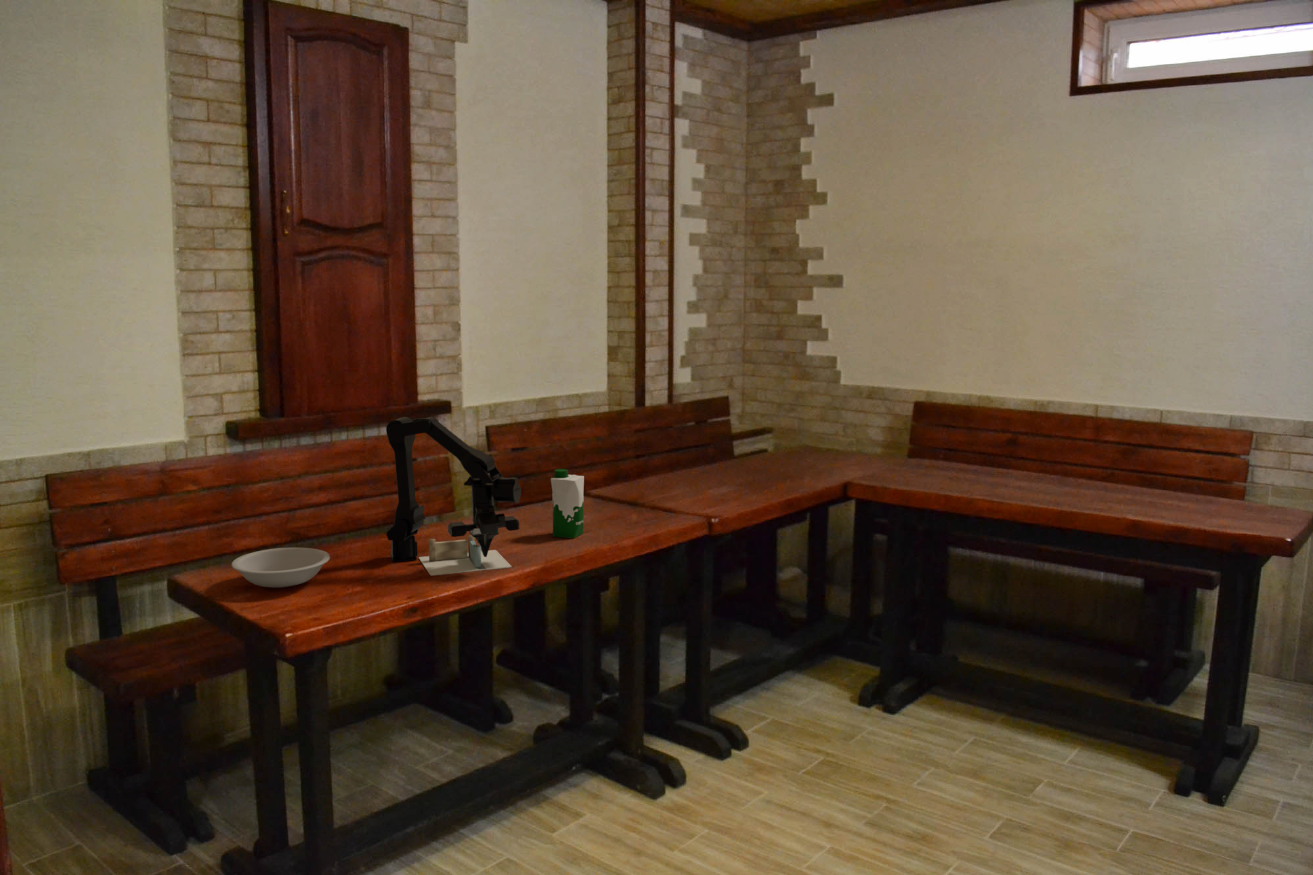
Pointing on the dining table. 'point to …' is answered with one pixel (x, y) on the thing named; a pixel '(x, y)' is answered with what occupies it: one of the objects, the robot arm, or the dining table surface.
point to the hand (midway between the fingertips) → (485, 556)
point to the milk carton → (567, 504)
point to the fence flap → (475, 554)
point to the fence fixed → (449, 549)
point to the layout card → (464, 564)
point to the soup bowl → (281, 566)
